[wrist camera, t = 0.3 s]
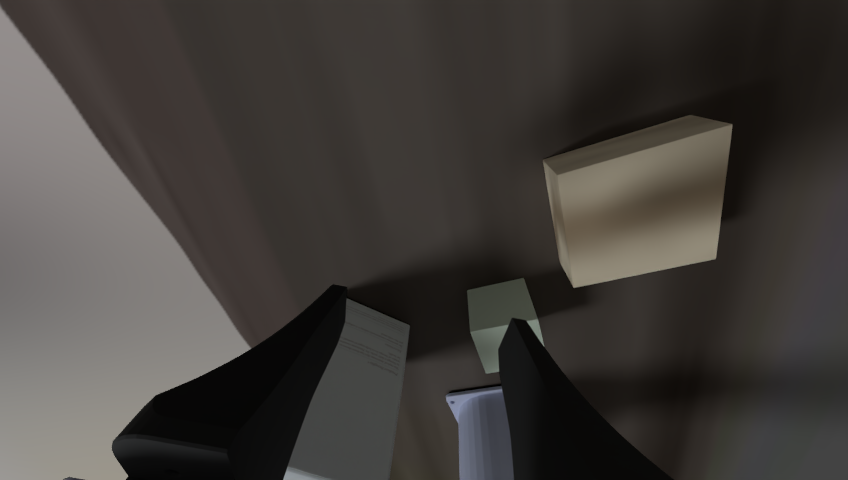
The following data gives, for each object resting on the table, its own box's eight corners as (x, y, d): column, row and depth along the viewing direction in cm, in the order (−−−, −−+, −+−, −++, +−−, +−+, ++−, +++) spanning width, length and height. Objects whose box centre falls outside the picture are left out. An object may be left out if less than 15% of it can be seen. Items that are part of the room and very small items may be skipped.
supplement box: (310, 341, 29) (226, 508, 18) (336, 290, 26) (252, 459, 15) (379, 369, 31) (340, 540, 20) (414, 325, 27) (389, 503, 16)
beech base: (682, 234, 21) (715, 258, 18) (559, 262, 23) (573, 288, 20) (690, 114, 17) (732, 124, 14) (542, 159, 19) (557, 175, 16)
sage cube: (533, 318, 26) (548, 363, 22) (480, 328, 27) (486, 373, 23) (523, 277, 24) (537, 319, 20) (466, 289, 25) (470, 332, 21)
